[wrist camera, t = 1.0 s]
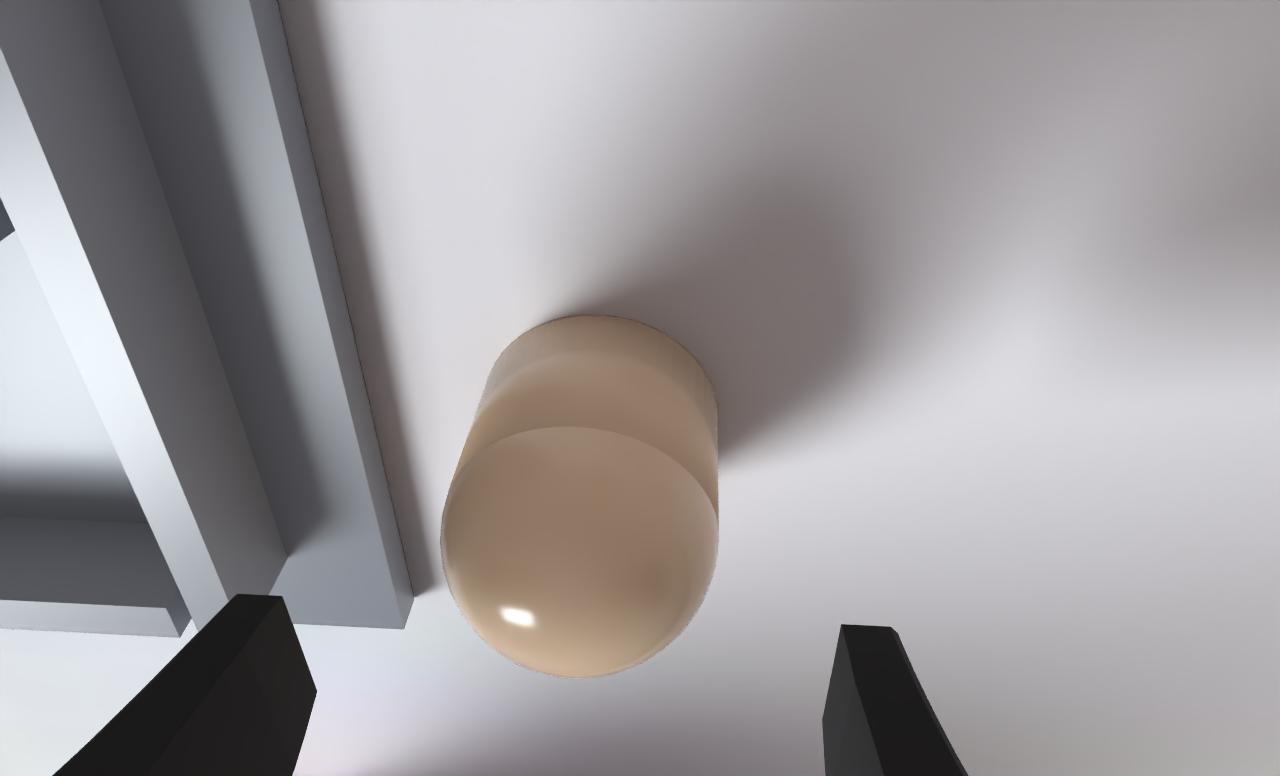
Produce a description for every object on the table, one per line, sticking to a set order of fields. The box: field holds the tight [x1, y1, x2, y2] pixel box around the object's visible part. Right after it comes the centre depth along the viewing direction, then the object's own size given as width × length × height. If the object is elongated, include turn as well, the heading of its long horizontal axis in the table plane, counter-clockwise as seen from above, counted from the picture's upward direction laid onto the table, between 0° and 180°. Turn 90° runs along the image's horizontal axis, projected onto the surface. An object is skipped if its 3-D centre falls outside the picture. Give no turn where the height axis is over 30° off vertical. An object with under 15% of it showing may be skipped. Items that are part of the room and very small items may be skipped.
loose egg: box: [440, 315, 719, 679], centre depth 14 cm, size 4×4×5 cm
